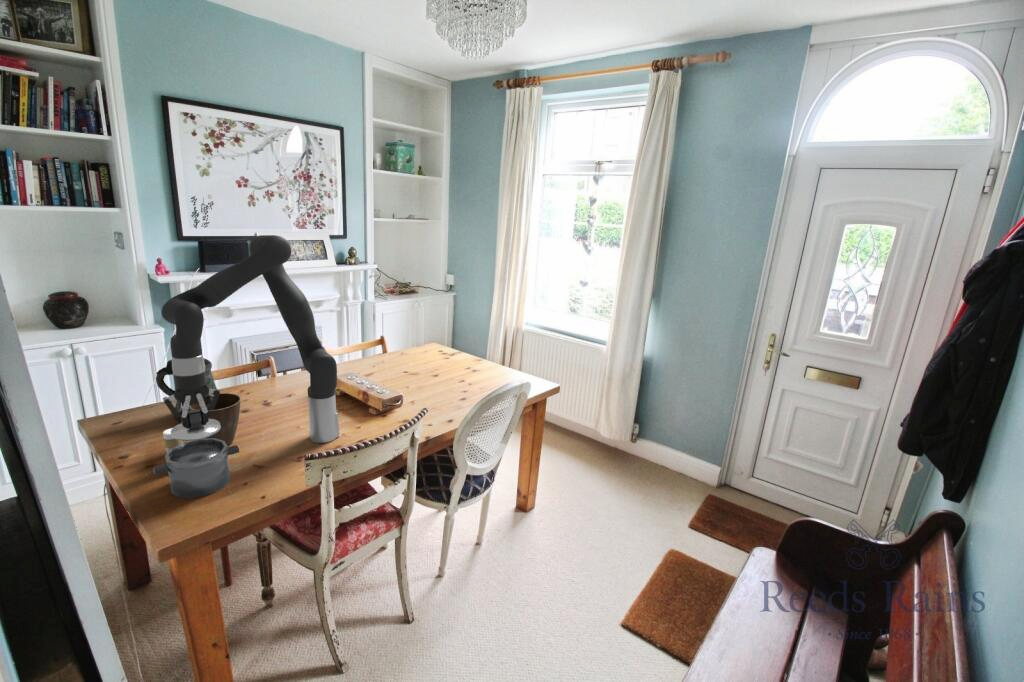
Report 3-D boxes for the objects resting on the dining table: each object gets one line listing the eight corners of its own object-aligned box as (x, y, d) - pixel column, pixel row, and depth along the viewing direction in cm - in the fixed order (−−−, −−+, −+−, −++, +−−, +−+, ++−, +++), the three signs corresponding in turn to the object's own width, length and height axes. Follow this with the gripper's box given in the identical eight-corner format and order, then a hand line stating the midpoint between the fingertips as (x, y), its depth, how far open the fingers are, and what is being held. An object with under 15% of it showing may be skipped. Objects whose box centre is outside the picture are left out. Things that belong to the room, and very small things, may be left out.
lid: (216, 418, 145) (214, 400, 143) (224, 433, 136) (222, 414, 135) (168, 427, 137) (166, 408, 136) (174, 444, 129) (171, 424, 127)
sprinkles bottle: (184, 463, 152) (178, 425, 148) (188, 469, 149) (182, 431, 145) (167, 468, 148) (160, 430, 145) (170, 474, 145) (164, 435, 142)
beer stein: (233, 414, 186) (226, 354, 179) (178, 431, 171) (168, 366, 164) (212, 402, 195) (205, 344, 188) (158, 417, 179) (148, 355, 172)
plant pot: (183, 451, 159) (177, 407, 154) (216, 431, 173) (211, 390, 168) (224, 457, 157) (219, 413, 152) (254, 436, 171) (250, 395, 167)
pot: (234, 461, 155) (230, 431, 151) (247, 482, 144) (243, 450, 141) (154, 484, 140) (148, 450, 137) (162, 509, 130) (156, 473, 127)
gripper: (214, 362, 139) (220, 415, 144) (155, 370, 129) (163, 427, 134) (221, 369, 134) (226, 424, 139) (160, 379, 124) (168, 437, 129)
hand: (195, 425), depth 136 cm, fingers closed on lid, 3 cm apart
